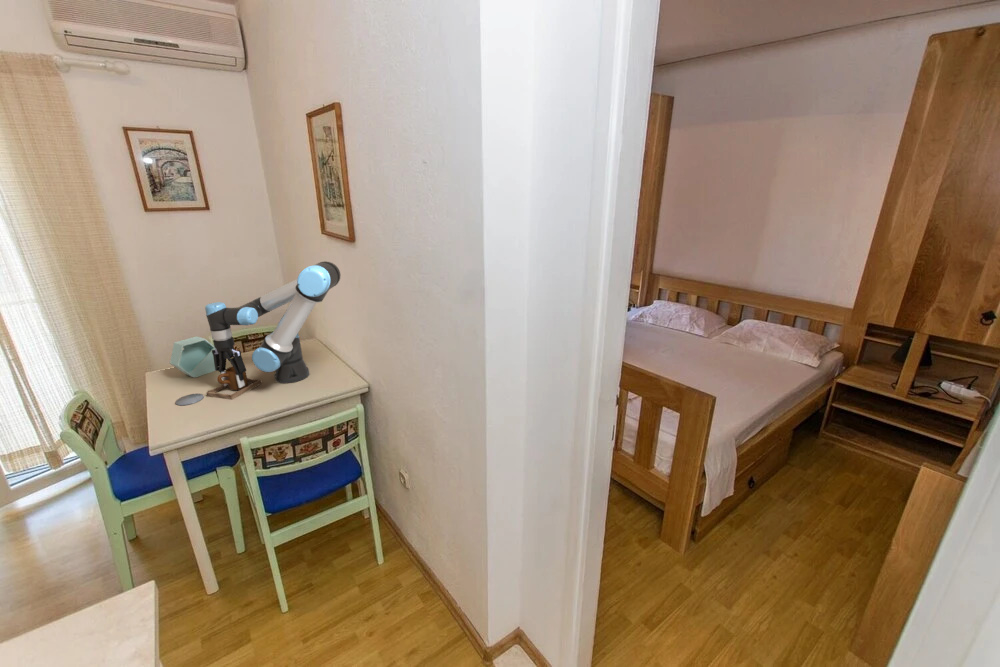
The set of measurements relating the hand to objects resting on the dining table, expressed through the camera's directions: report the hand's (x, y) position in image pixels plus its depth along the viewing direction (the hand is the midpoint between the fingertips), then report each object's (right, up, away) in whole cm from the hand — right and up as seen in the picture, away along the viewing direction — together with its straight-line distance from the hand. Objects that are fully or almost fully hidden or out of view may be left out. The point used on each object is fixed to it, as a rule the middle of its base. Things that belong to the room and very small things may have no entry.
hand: (234, 385), depth 196 cm
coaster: (-14, -5, -8) cm, 17 cm away
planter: (-29, +4, +19) cm, 35 cm away
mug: (-1, -2, +1) cm, 2 cm away
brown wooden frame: (0, -2, +1) cm, 2 cm away
